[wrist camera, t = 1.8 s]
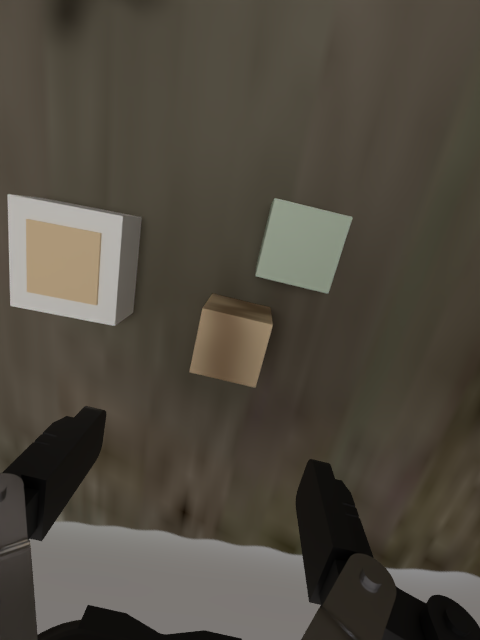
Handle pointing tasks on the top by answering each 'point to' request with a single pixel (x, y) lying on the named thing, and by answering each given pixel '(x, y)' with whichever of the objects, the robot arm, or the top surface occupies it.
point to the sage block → (302, 245)
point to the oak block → (231, 340)
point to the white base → (72, 259)
